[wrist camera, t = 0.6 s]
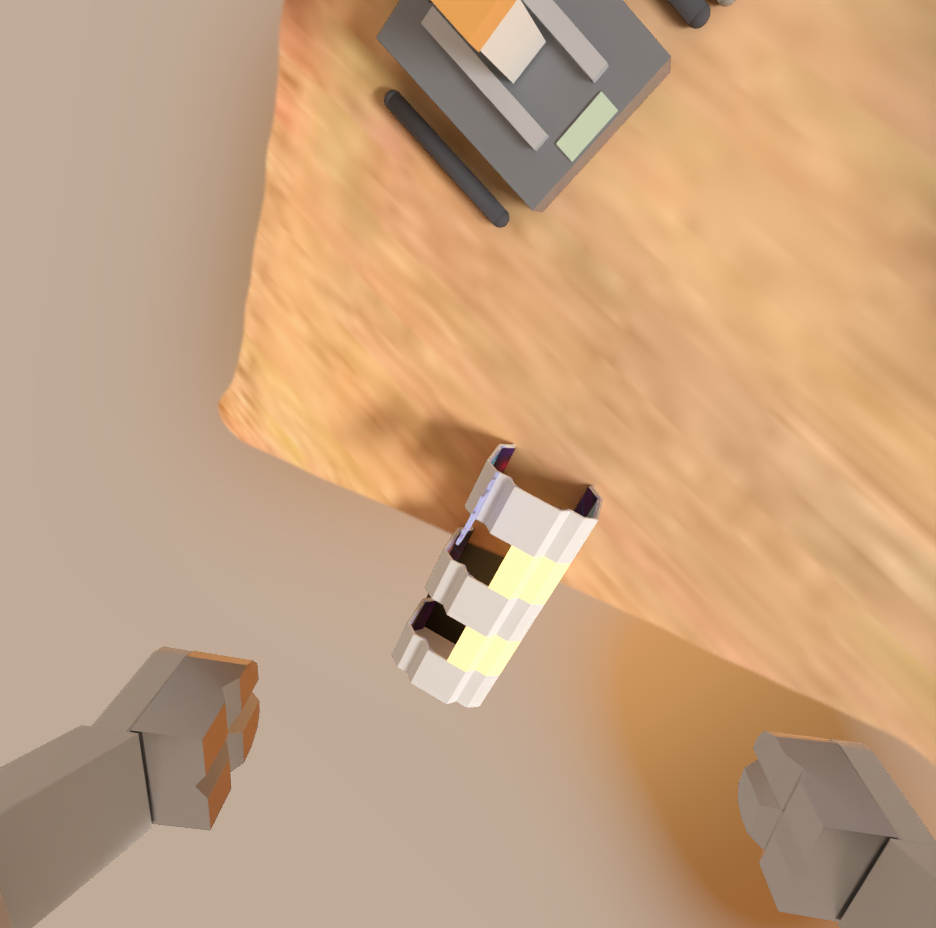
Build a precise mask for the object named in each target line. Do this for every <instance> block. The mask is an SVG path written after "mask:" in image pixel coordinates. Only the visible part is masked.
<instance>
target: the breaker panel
mask: <svg viewBox="0 0 936 928" xmlns="http://www.w3.org/2000/svg"><path fill="white" fill-rule="evenodd" d="M521 1H522V3H523V5H524V6H525V8H526V10H527V11H528V13H529V14H530V16H531V18H532V19H533V21H534V23H535V24H536V26H537V28H538V29H539V31H540V33H541V34H542V36H543V38H544V39H545V41H546V42H545V44H544V45H543V46H542V48H541V49H540V50H539V51H538V53H537V54H536V55H535V57H534V58H533V59H532V60H531V62H530V63H529V64H528V66H527V67H526V68H525V69H524V71H523V72H522V73H521V75H520V76H519V77H518V78H517V80H516V81H515V82H514V84H513V83H512V82H511V81H510V80H509V79H508V78H507V77H506V76H505V75H504V74H503V73H502V72H501V71H500V70H499V69H498V68H497V67H496V66H495V65H494V64H493V63H492V62H491V61H490V60H489V59H488V58H487V57H486V56H485V55H484V54H483V53H482V52H481V51H479V52H478V51H477V50H476V49H475V48H474V47H473V46H472V45H471V44H470V43H469V42H468V41H467V40H466V39H465V38H464V37H463V36H462V35H461V34H460V32H459V31H458V30H457V29H456V28H455V27H454V26H453V25H452V23H451V22H450V21H449V20H448V19H447V18H446V17H445V16H444V14H443V13H442V12H441V11H440V10H439V9H438V8H437V7H436V6H435V4H434V3H433V2H432V1H431V0H400V1H399V2H398V4H397V6H396V7H395V9H394V10H393V12H392V13H391V15H390V17H389V18H388V20H387V21H386V23H385V25H384V26H383V28H382V29H381V31H380V33H379V34H378V36H377V37H376V38H377V40H378V41H379V42H380V43H381V44H382V45H383V46H384V47H385V48H386V49H387V51H388V52H389V53H390V54H391V55H392V56H393V57H394V58H395V59H396V61H397V62H398V63H399V64H400V65H401V66H402V67H403V68H404V69H405V70H406V72H407V73H408V74H409V75H410V76H411V77H412V78H413V79H414V80H415V81H416V83H417V84H418V85H419V86H420V87H421V88H422V89H423V90H424V91H425V93H426V94H427V95H428V96H429V97H430V98H431V99H432V100H433V101H434V102H435V104H436V105H437V106H438V107H439V108H440V109H441V110H442V111H443V112H444V114H445V115H446V116H447V117H448V118H449V119H450V120H451V121H452V122H453V123H454V125H455V126H456V127H457V128H458V129H459V130H460V131H461V132H462V133H463V135H464V136H465V137H466V138H467V139H468V140H469V141H470V142H471V143H472V144H473V146H474V147H475V148H476V149H477V150H478V151H479V152H480V153H481V154H482V155H483V157H484V158H485V159H486V160H487V161H488V162H489V163H490V164H491V165H492V167H493V168H494V169H495V170H496V171H497V172H498V173H499V174H500V175H501V176H502V178H503V179H504V180H505V181H506V182H507V183H508V184H509V185H510V186H511V188H512V189H513V190H514V191H515V192H516V193H517V194H518V195H519V196H520V197H521V199H522V200H523V201H524V202H525V203H526V204H527V205H528V206H529V207H530V209H531V210H532V211H539V212H543V211H544V210H545V209H546V208H547V207H548V205H549V204H550V203H551V202H552V201H553V200H554V199H555V198H556V197H557V196H558V194H559V193H560V192H561V191H562V190H563V189H564V188H565V187H566V186H567V185H568V183H569V182H570V181H571V180H572V179H573V178H574V177H575V176H576V175H577V174H578V173H579V171H580V170H581V169H582V168H583V167H584V166H585V165H586V164H587V163H588V162H589V160H590V159H591V158H592V157H593V156H594V155H595V154H596V153H597V152H598V151H599V149H600V148H601V147H602V146H603V145H604V144H605V143H606V142H607V141H608V140H609V139H610V137H611V136H612V135H613V134H614V133H615V132H616V131H617V130H618V129H619V128H620V126H621V125H622V124H623V123H624V122H625V121H626V120H627V119H628V118H629V117H630V115H631V114H632V113H633V112H634V111H635V110H636V109H637V108H638V107H639V106H640V105H641V103H642V102H643V101H644V100H645V99H646V98H647V97H648V96H649V95H650V94H651V92H652V91H653V90H654V89H655V88H656V87H657V86H658V85H659V84H660V83H661V81H662V80H663V79H664V78H665V77H666V76H667V75H668V74H669V73H670V65H671V56H670V55H669V54H668V52H667V51H666V50H665V49H664V48H663V47H662V45H661V44H660V43H659V42H658V41H657V40H656V39H655V37H654V36H653V35H652V34H651V33H650V32H649V30H648V29H647V28H646V27H645V26H644V25H643V23H642V22H641V21H640V20H639V19H638V18H637V16H636V15H635V14H634V13H633V12H632V11H631V10H630V8H629V7H628V6H627V5H626V4H625V3H624V1H623V0H521Z"/></svg>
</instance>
